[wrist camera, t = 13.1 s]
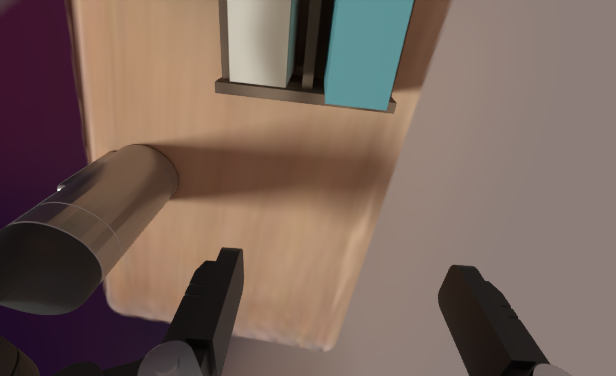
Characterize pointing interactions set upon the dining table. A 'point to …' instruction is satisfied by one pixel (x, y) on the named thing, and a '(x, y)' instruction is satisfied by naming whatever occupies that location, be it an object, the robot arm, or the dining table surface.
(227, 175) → the dining table surface
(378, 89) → the teal book
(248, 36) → the book rack
